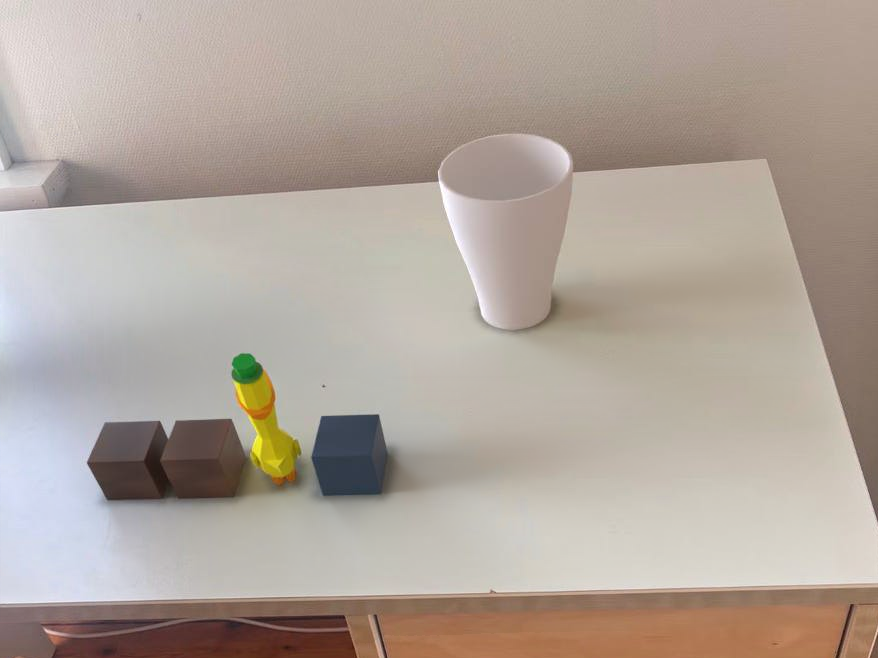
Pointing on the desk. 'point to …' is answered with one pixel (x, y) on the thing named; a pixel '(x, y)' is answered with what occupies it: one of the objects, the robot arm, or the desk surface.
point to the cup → (509, 221)
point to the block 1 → (130, 460)
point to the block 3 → (350, 455)
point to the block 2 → (204, 458)
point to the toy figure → (264, 420)
